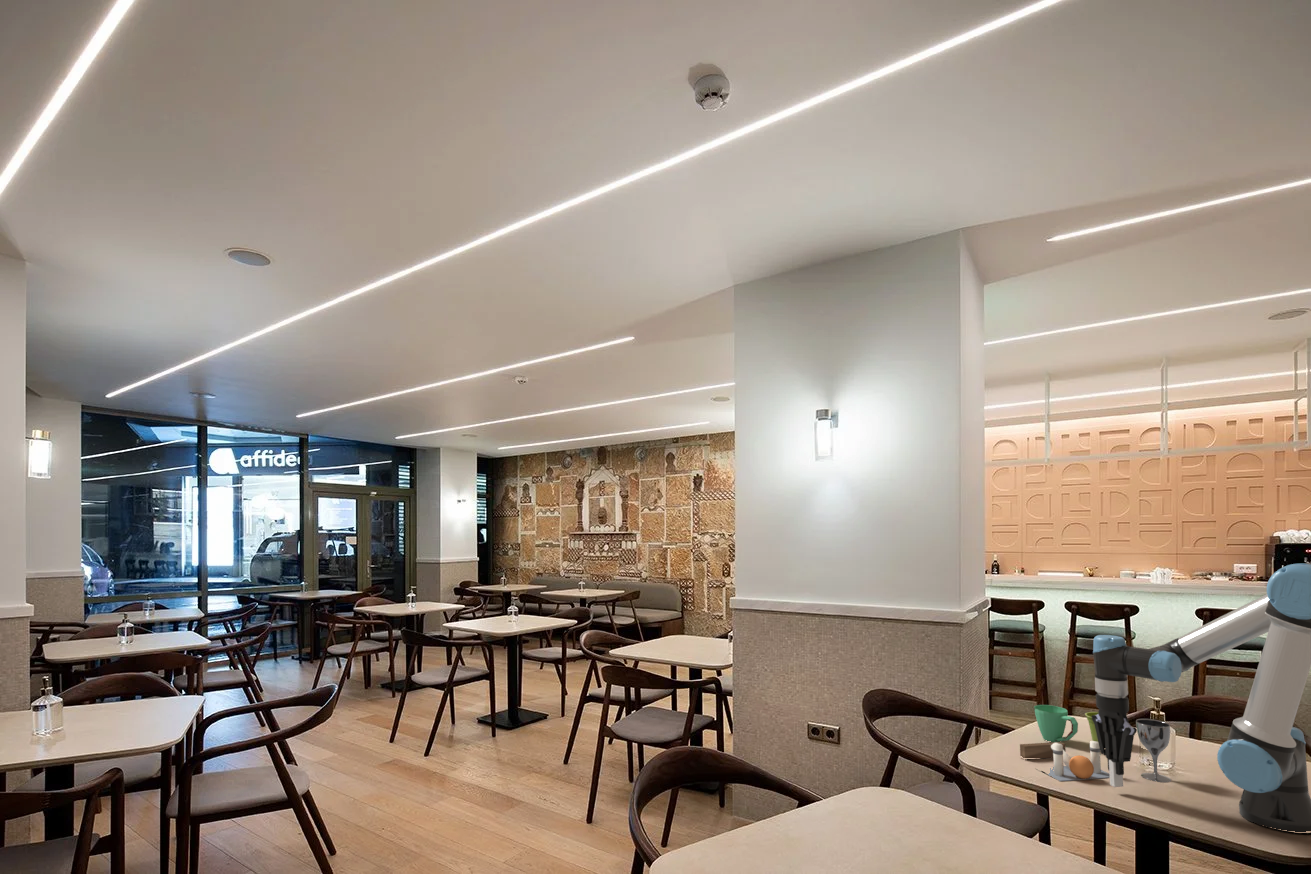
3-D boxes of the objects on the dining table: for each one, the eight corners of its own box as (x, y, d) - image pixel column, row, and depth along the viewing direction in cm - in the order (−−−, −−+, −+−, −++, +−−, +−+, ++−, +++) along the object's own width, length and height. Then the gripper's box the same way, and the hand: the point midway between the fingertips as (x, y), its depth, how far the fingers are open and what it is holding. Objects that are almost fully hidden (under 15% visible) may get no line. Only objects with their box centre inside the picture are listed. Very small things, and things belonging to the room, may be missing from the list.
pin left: (1066, 776, 205) (1064, 745, 206) (1058, 777, 205) (1057, 746, 206) (1059, 773, 208) (1058, 742, 209) (1052, 774, 207) (1050, 743, 208)
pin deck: (1116, 777, 205) (1116, 776, 205) (1060, 781, 202) (1059, 780, 202) (1089, 765, 215) (1089, 764, 215) (1035, 768, 212) (1035, 768, 212)
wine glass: (1178, 784, 200) (1175, 727, 202) (1146, 781, 202) (1143, 725, 204) (1165, 773, 208) (1161, 719, 210) (1134, 771, 210) (1131, 717, 211)
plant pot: (1082, 743, 235) (1080, 715, 236) (1091, 737, 242) (1090, 710, 243) (1115, 750, 229) (1113, 721, 229) (1124, 743, 235) (1122, 716, 236)
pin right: (1103, 774, 207) (1101, 743, 208) (1095, 774, 207) (1094, 743, 208) (1096, 771, 210) (1095, 740, 211) (1088, 771, 209) (1087, 741, 210)
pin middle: (1080, 765, 208) (1059, 741, 215) (1072, 767, 208) (1052, 743, 215) (1077, 771, 209) (1056, 747, 217) (1070, 773, 209) (1049, 749, 216)
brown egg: (1081, 767, 209) (1099, 779, 203) (1064, 773, 207) (1081, 785, 202) (1081, 748, 208) (1098, 760, 202) (1063, 754, 206) (1081, 766, 201)
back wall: (1065, 757, 221) (1065, 743, 222) (1024, 760, 219) (1024, 746, 219) (1061, 755, 223) (1060, 741, 224) (1020, 757, 221) (1019, 744, 221)
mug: (1028, 737, 241) (1026, 706, 242) (1051, 734, 244) (1049, 703, 245) (1066, 751, 227) (1064, 718, 228) (1089, 748, 230) (1088, 715, 231)
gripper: (1144, 700, 190) (1149, 794, 188) (1104, 688, 203) (1109, 776, 201) (1119, 701, 189) (1124, 796, 187) (1081, 689, 202) (1085, 777, 200)
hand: (1116, 785), depth 194 cm, fingers closed
